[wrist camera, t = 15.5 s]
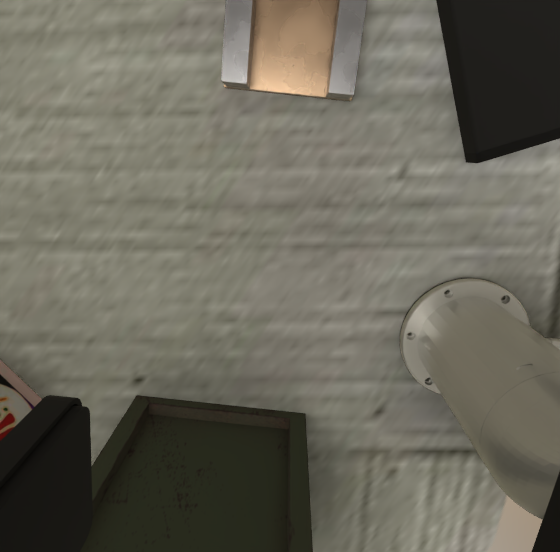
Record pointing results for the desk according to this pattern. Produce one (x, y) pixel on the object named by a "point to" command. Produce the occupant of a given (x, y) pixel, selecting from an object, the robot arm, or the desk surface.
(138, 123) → the desk surface
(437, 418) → the desk surface
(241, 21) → the frame
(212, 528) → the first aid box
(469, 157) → the external hard drive
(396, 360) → the desk surface
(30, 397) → the greeting card
